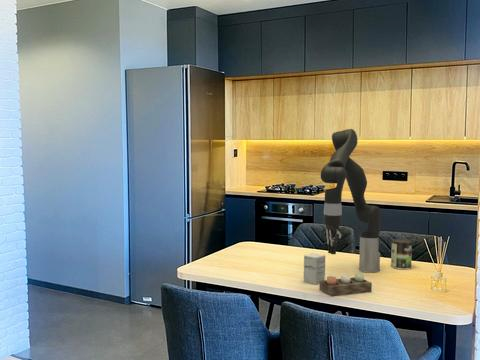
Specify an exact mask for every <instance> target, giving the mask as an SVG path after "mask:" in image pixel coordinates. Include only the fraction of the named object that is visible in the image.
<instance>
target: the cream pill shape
mask: <svg viewBox="0 0 480 360" xmlns="http://www.w3.org/2000/svg"><path fill="white" fill-rule="evenodd" d="M350 278H351V276H350V275H349V274H340V279H341V283H343V284H348V283H350Z"/></svg>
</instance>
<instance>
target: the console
mask: <svg viewBox="0 0 480 360" xmlns="http://www.w3.org/2000/svg"><path fill="white" fill-rule="evenodd" d="M318 285H319V288H318V290H319V291H320V292H322V293H324V294H326V295H328V296H329V297H340V296H347V295H348V296H349V295H356V294H366V292H367V293H372V289H373V284H372V282H371V281H369V280H367V279H364V282H356V281H355V276H353V277H350V283H348V284H343V283H341V278H336V285H330V286H329V285H327V279H325V280H323V281H319V284H318Z"/></svg>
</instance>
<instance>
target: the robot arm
mask: <svg viewBox="0 0 480 360" xmlns="http://www.w3.org/2000/svg"><path fill="white" fill-rule="evenodd" d="M331 142H332V145H333V147H334V150H335V151H334V152H333V154H332V155H331V157H330V159H329V161H328V162H327V163H326V164H325V165H324V166H323V167H322V169H321V171H320V179H321V181H322V182H324V183H325V184H336V186H335V187H332V188H328V189H325V191H324V206H323V224H324V225H325V228H323V229H322V235H323V238H324V242H325V243H326V244H327V247H328V248H327V253H328V254H331V255H336V254H337V246H339V245H340V244H341V242H342V241H341V240H342V239H343V236H344V234H343V233H341V232H340V226H341V225H342V222H343V213H342V211H343V209H342V208H343V207H342V196H343V194H342V193H343V188H344V184H345V181H346V182H347V185H348V188H349V190H350V191H349V192H350V193H351V198H352V201H353V204H354V205H353V206H354V210H355V214H356V217H357V219H358V220H359V222H360V223H363V224H367V228H366V229H362V230H360V232H359V259H358V260H359V267H358V270H359V271H361V272H362V273H363V272H365V273H377V272H380V271H381V270H380V269H381V266H380V265H381V264H380V263H381V252H380V251H379V245H380V244H379V241H380V239H379V238H380V236H379V235H380V233H381V226H382V224H381V222H382V210H381V209H380V207H379V206H377V205H372V204H371V205H370V204H367V201H366V200H365V192H366V189H367V186H368V180H367V176H366V173H365V171H364V169H363V168H362V167H361V165H359V164H358V163H357V162H356V161H355V160H353V159H352V158H351V157H350V156H351V155H352V153H353V152H354V150H355V149H356V147H357V145H358V134H357V132H356V131H355V129H353V128H346V129H343V130H338V131H335V132H333V133H332V134H331Z"/></svg>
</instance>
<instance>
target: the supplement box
mask: <svg viewBox="0 0 480 360" xmlns="http://www.w3.org/2000/svg"><path fill="white" fill-rule="evenodd" d="M323 280H326V255H325V254H320V253H314V252H311V253H307V254H304V255H303V282H304V283H309V284H313V285H319V281H323Z"/></svg>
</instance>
